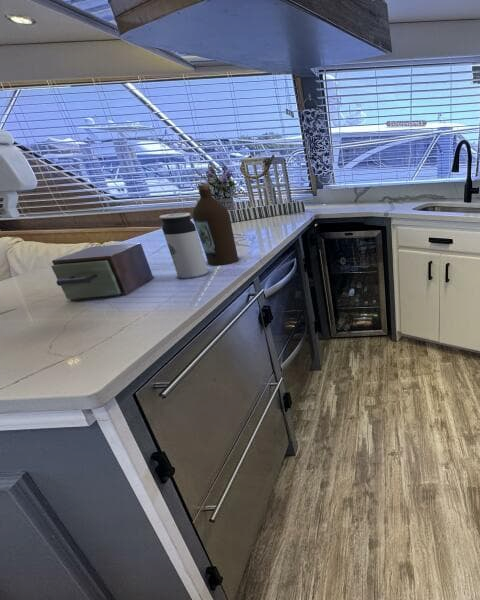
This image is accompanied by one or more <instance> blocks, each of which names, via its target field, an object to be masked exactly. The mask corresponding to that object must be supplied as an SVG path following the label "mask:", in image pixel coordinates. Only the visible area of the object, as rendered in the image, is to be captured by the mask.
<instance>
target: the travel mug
mask: <svg viewBox="0 0 480 600" xmlns="http://www.w3.org/2000/svg"><path fill="white" fill-rule="evenodd" d="M159 219H161V221H162V227H161V230H162V232H163V235H164V238H165V241H166V245H167V247H168V250H169V254H170V256H171V259H172V263H173V265H174V269H175V271H176V275H177V277H178V278H180V279H195V278H198V277H201V276H205V275H206V274H207V273H208V272H209V269H208V265H207V263H206V262H207V261H206V259H205V256H204V255H205V254H204V252H203V248H202V244H201V241H200V237H199V234H198V231H197V229H196V226H195V223H194V221H192V219H191V213H190V212H177V213H176V212H175V213H168V214H167V213H166V214H161V215H159Z"/></svg>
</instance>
